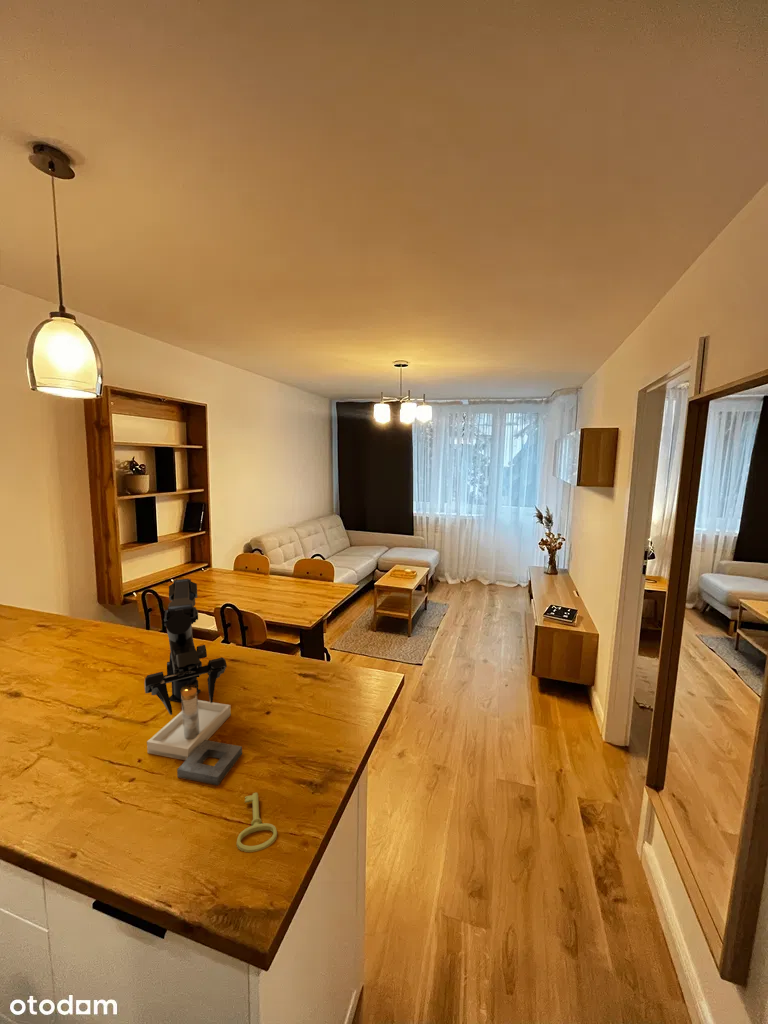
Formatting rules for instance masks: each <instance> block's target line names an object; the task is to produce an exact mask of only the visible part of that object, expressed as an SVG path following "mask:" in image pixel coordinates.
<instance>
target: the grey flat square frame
mask: <svg viewBox="0 0 768 1024" xmlns="http://www.w3.org/2000/svg"><path fill="white" fill-rule="evenodd" d="M242 755H243V746H241V745H235V744H232V743H226V742H219V741H213V740H209V739H208V740H204V741H203V742H202V743H201V744H200V746H199V747H198V748H197V749H196V750H195V751H194V752H193V753H192V754H191V755H190V756H189V757H188V758H187V759H186V760H184V761H183V762H182V764H181V765H179V767H178V768H177V770H176V771H177V778H178V779H179V778H180V779H183V780H188V781H194V782H199V783H203V784H209V785H215V786H219V785H220V784H221V783H222V781H223V779H225V777H226V776H227V775H228V773H229V772H230V771H231V770H232V768H233V767H234V765H235V764H237V762H238V760H239V759H240V758H241V756H242ZM208 758H213V759H219V760H217V762H216V763H215V765H209V764H204V763H205V761H206V760H207V759H208Z"/></svg>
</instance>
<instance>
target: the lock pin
mask: <svg viewBox="0 0 768 1024" xmlns="http://www.w3.org/2000/svg"><path fill="white" fill-rule="evenodd" d="M198 700H199V698H198V694H197V686H196V685H194V684H188V685H185V686H184V687H182V688H181V702H180V703H181V711H182V715H183V728H184V738H185V739H187V740H191V739H194V738H196V737H197V736H198V735H199V734H200V728H199V713H198Z"/></svg>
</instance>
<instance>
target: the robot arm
mask: <svg viewBox="0 0 768 1024" xmlns="http://www.w3.org/2000/svg"><path fill="white" fill-rule="evenodd" d="M168 599H169V601H170V602H169V603H168V605H167V609H165V610H164V618H163V625H164V626H163V627H166V632H167V637H168V642H169V650H170V653H169V661H167V662H166V675H164V671H160V672H159V671H158V672H155V673H151V674H147V675H146V676H145V678H144V683H143V684H144V692H145V693H144V694H150V693H151V695H152V696H155V695H156V696H157V698H158V699H159V700H160V701H161V702H162V703H163V705H164V707H165V708H166V710H167V712H168V714H169V715H170V716H172V715H173V707H172V703H171V701H173V702H178V703H182V702H181V688H182V687H184V686H185V685H188V684H194V685H196V686H197V695H199V694H200V693H201V692H202V689H199V680H198V678H200V676H202V675H204V674H207V675H208V677H207V687H208V698H209V699H208V700H209V702H210V703H212V702H214V695H215V694H214V692H215V687H216V682H217V679H218V678H220V676H221V675H222V674H224V673H225V671H226V669H227V660H226V659H225V658H224V657H221V656H220V657H218V658H213V659H209V660H208V663H207V665H202V663H203V662H202V661H201V659H205V658H207V657H208V654H207V653H208V652H207V648H206V644H202V645H198V646H196V647H195V641H194V637H193V627H192V625H194V623H197V622H196V621H198V620H199V610H198V609H197V607H196V599H198V584H197V583H195V582H193V581H192V580H191V578H181V579H175V580H173V583H172V584H170V585H169V586H168ZM169 683H171V695H170V696H169V693H168V686H167V684H169Z"/></svg>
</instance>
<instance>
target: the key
mask: <svg viewBox="0 0 768 1024" xmlns="http://www.w3.org/2000/svg"><path fill="white" fill-rule="evenodd" d="M250 802H251V803H252V820H251V822H250V824H251V825H250V826H248V827H246V828H244V830H242V831H240V833H239V834H238V835H237V839H236V846H237V849H238V850H240V851H241V852H243V851H244V853H253V852H260V851H261V850H264V849H267V848H268V847H270V846H271V845H272V844H273V843H274V842H275V841H276V840H277V837H278V831H277V828H276V826H275V825H274V824H272V823H266V822H264V823H262V822H263V821H262V819H261V817H260V805H259V804H260V803H259V793H258V792H252V794H251V795H246V796H245V797H244V803H245V804H246V803H250ZM259 831H270V832H272V836H271V837H269V838H268V840H266V841H264V842H263V843H260V844H256V845H247V844H246V845H245V844H243V843H242V840H243V838H245V837H246V836H248V835H250V834H253V833H256V832H259Z"/></svg>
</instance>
